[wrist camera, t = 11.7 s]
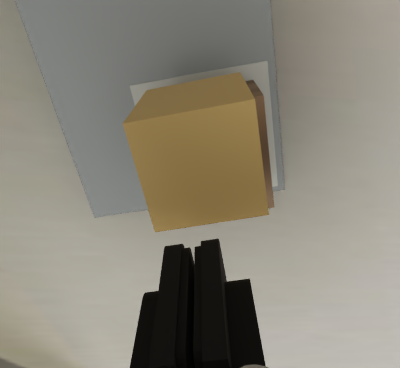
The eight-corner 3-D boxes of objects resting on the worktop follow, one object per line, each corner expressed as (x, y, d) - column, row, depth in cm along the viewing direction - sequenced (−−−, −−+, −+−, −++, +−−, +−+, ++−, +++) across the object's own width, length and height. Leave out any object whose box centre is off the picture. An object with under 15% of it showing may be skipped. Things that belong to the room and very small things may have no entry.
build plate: (7, -46, 21) (-6, -50, 20) (258, -103, 19) (262, -110, 18) (98, 209, 29) (93, 218, 28) (281, 182, 27) (285, 190, 26)
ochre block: (146, 90, 18) (122, 123, 13) (240, 71, 18) (255, 99, 13) (167, 174, 21) (154, 232, 15) (251, 159, 20) (269, 214, 15)
